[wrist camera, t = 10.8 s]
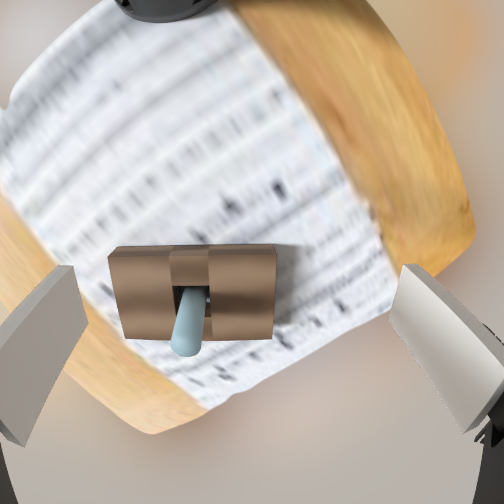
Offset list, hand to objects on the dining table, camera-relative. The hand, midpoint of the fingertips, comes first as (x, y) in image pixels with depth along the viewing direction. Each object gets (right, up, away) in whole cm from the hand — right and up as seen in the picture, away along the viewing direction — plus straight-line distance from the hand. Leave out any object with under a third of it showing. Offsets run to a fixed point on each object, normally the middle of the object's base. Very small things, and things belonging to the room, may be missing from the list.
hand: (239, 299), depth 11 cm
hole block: (-7, -3, +27) cm, 29 cm away
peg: (-7, -3, +27) cm, 28 cm away
